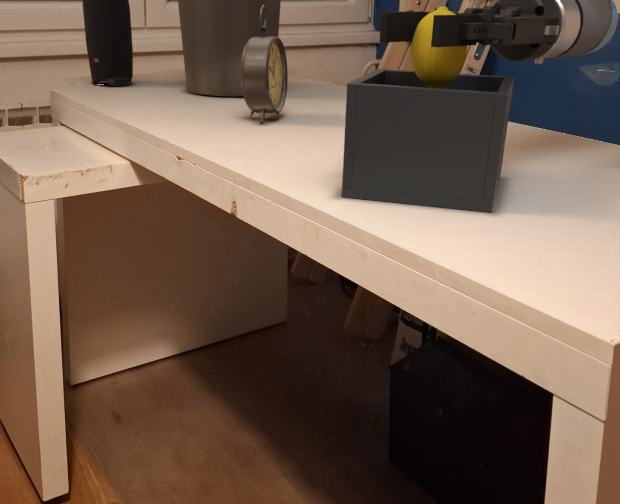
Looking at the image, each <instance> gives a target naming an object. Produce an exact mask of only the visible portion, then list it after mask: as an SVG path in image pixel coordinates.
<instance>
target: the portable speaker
mask: <svg viewBox="0 0 620 504" xmlns="http://www.w3.org/2000/svg"><path fill="white" fill-rule="evenodd" d="M82 12H83V25H84V34H85V35H84V37H85V46H86V52H87V59H88V65H89V71H90V76H91V77H90V78H91V83H92V84H93V85H94V86H95V85H97V84H98V83H101V82H102V83H103V82H105V83H106V85H107V86H108V87H123V86H124V87H127V86H129V84H131V83H132V80H133V79H134V54H133V53H134V48H133V47H134V46H133V33H132V19H131V7H130V1H129V0H82Z"/></svg>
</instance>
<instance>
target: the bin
mask: <svg viewBox="0 0 620 504" xmlns="http://www.w3.org/2000/svg"><path fill="white" fill-rule="evenodd" d="M514 83H515V77H514V76H504V75H488V74H487V75H486V74H473V73H472V74H471V73H469V74H468V73H459V75H458V76H457V77H456V78H455V79H454V80H452V81H451V82H449V83H447V84H445V85H443V86H442V87H441V89H440V88H430V87H429V86H428V84H426V83H425V82H423V81H421V80H420V79H419V78H418V76H417V75H416V73H415V72H414V70H405V69H390V68H389V69H388V68H387V69H386V68H377V69H375V70H373V71H370V72H369V73H367V74H364V75H362V76H361V77H359V78H356V79H354V80H352V81H350V82H349V83H346V98H345V101H346V102H345V120H344V121H345V122H344V138H343V139H344V141H343V159H342V161H343V162H342V179H341V180H342V181H341V187H342V188H341V198H347V199H358V200H367V201H375V202H376V201H377V202H387V203H397V204H404V205H416V206H423V207H433V208H434V207H435V208H443V209H454V210H462V211H463V210H464V211H473V212H483V213H492V211H493V209H494V205H495V200H496V196H497V192H498V188H499V184H500V180H501V175H502V169H503V168H502V167H503V161H504V153H505V147H506V140H507V132H508V125H509V120H510V119H509V118H510V117H509V116H510V110H511V106H512V105H511V104H512V97H513V89H514Z"/></svg>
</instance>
